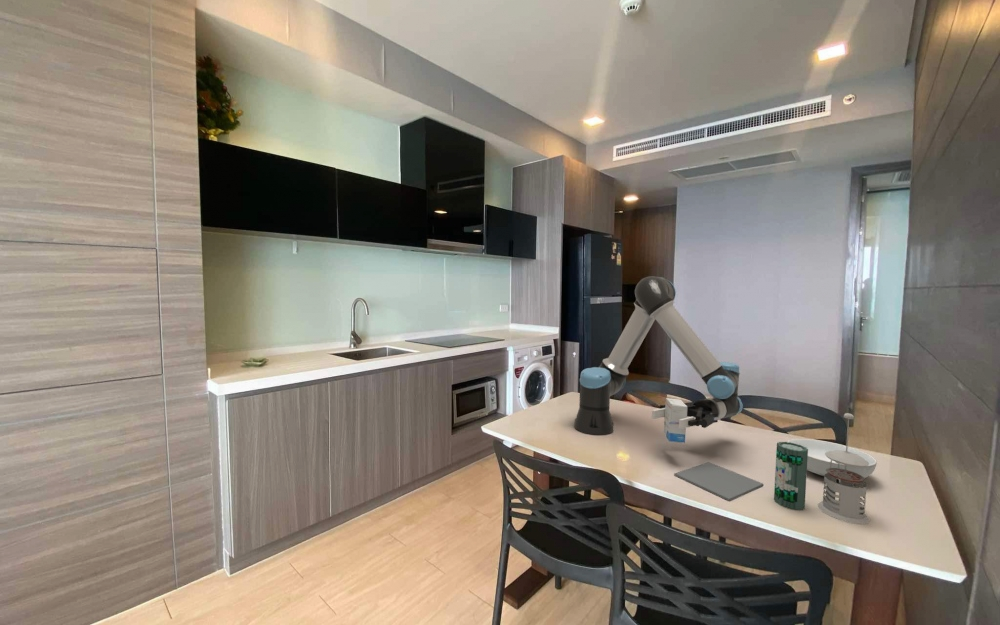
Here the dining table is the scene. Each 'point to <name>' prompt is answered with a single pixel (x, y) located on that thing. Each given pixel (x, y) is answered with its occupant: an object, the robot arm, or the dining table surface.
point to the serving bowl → (821, 462)
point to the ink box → (674, 420)
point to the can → (790, 475)
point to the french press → (845, 487)
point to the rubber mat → (719, 480)
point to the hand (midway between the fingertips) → (666, 419)
